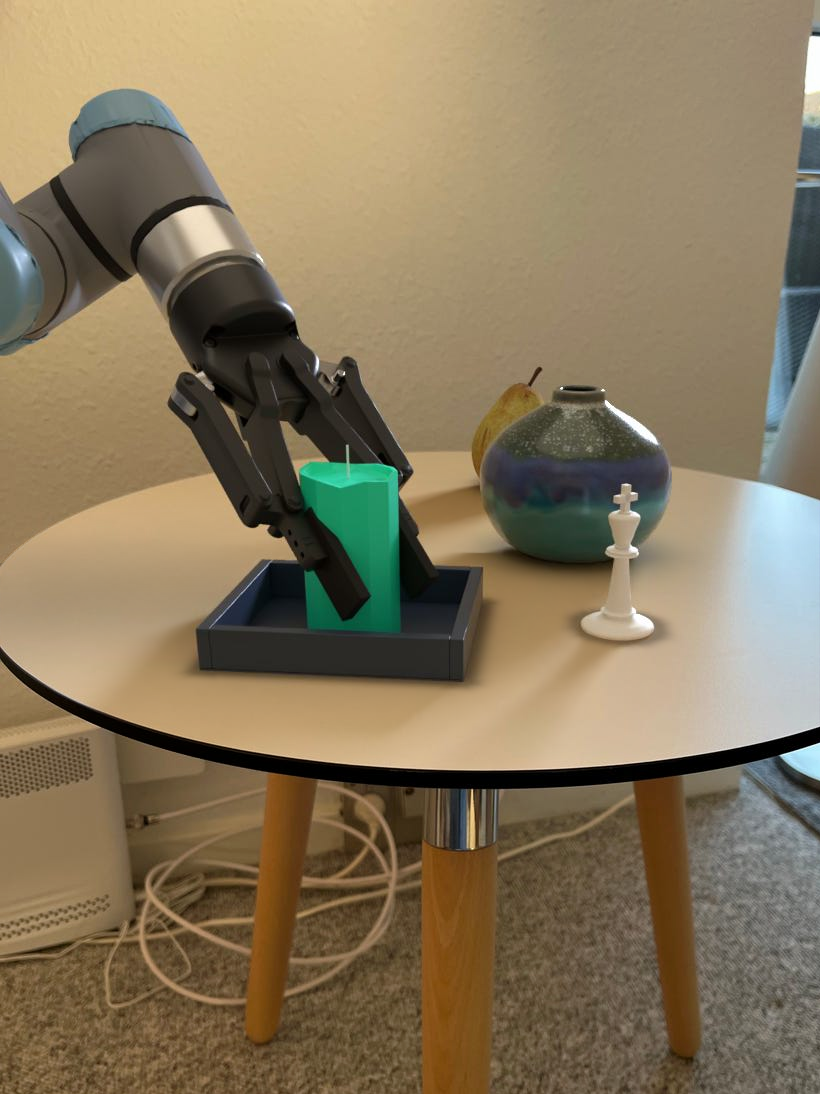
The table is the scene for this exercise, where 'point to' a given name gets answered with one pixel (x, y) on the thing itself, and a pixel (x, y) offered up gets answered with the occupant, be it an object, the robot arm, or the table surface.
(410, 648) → the tray
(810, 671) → the table surface
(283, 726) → the table surface
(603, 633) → the chess piece
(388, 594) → the candle
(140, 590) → the table surface
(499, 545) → the table surface
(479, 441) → the fruit
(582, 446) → the vase
